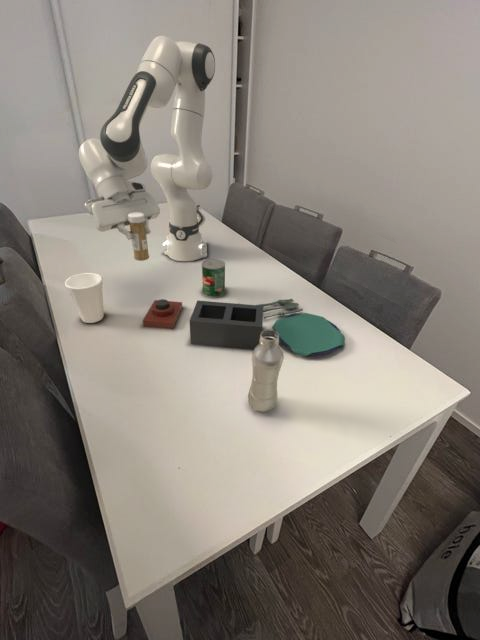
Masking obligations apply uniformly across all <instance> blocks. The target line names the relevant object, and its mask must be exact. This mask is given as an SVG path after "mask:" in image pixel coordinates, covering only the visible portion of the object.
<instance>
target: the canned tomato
mask: <svg viewBox="0 0 480 640" xmlns="http://www.w3.org/2000/svg"><path fill="white" fill-rule="evenodd" d="M201 273H202V274H201V278H202V294H203V296H205V297H208V298H220V297H223V296H224V295H225V293H226V288H225V287H226V263H225V261H224V260H222V259H219V258H208V259H205V260H203V261H202V262H201Z"/></svg>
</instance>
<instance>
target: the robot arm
mask: <svg viewBox="0 0 480 640" xmlns="http://www.w3.org/2000/svg"><path fill="white" fill-rule="evenodd" d="M215 72H216V58H215V55H214V51H212V49H211V47H209V46H208V45H206V44H204V43H200V42H199V43H195V42H191V41H182V40H180V41H175V40H173V39H172V38H171V37H168V36H166V35H158V36H156V37H154V38H153V39H152V41H151V42H150V43H149V45H148V47H147V48H146V50H145V52H144V54H143V56H142V58H141V61H140V63H139V66H138V69H137V72H136V74H134V76H133V77H132V78H131V80H130V81H129V84H128V86H127V88H126V89H125V91H124V94H123V96H122V98H121V100H120V102H119V104H118V106H117V108H116V110H115V111H114V113H113V114H112V115H111V116H110V117H109V118H108V120H106V121H105V123H104V124H103V125H102V127H101V129H100V134H99V139H98V138H96V137H91V138H88V139H86V140H85V141H83V143H81V145H80V146H79V149H78V159H79V162H80V164H81V167H82V169H83V171H84V173H85V174H86V176H87V178H88V180H89V181H90V182H91V183H92V184H93V186H94V189H95V192H96V194H97V195H98V196H99V197H95V198H89V199H87V200H86V201H85V203H84V207H85V209H86V211H87V213H88V214H89V215H90V217H91V220H92V223H93V225H94V227H95V228H96V230H97V231H99V232H100V233H103V232H107V231H110V230H111V231H112V230H115V229H117V230H118V232H119V233H121V234H122V235H124V236H125V237H126V239H127V241H130V240H132V239H133V238H134V234H133V232H132V231H130V230H128V229H127V228H126V227H127V226H130V224H129V221H128V214H129V213H133V212H140V213H143V214H144V216H145V230H146V236H148V235H150V234H151V232H152V230H151V229H150V227H149V221H151V220H155V219H157V218H158V217H159V215H160V214H161V208H160V206H159V204H158V202H157V201H156V199H155V198H154V196H153V195H152V194H151V193H149V192H148V191H146V190H147V186H146V184H145V183H141V182H137V181H136V182H135V181H131V180H130V179H133V178H136V177H139V176H141V175H143V174H144V172H145V171H146V169H147V166H148V157H147V155H146V151H145V149H144V146H143V144H142V139H141V135H140V125H141V123H142V121H143V119H144V116H145V114H146V112H147V109H148V107H150V108H154V109H162V108H164V107H166V106H167V105H168V104H169V102H170V101H171V99H172V97H173V95H174V91H175V89H176V93H175V96H174V100H173V105H172V106H173V107H172V116H171V123H170V136H171V138H172V139H173V141H175V143H176V144H177V146H178V151H179V152H178V155H177V154H171V153H163V154H157V155H155V156H154V157H153V158H152V160H151V162H150V174H151V176H152V178H153V179H154V180H155V181H156V182H157V183H158V185H159V186H160V187H161V190H162V191H163V194H164V197H165V199H166V202H167V207H168V213H169V214H168V215H169V223H168V229H169V233H168V234H167V235H166V241H164V242H163V243H162V246H166V249H165V250H164V251H163V255H165V256H168V258H170V260H174V261H177V262H192V261H198V260H200V259H204V258H207V257H208V245H207V242H206V241H204V240H203V241H202V237H203V236H202V233H201V231H200V224H201V223H202V221H203V214H201V212H200V211H198V208H200V207H201V206H200V204H198V205H197V202H196V200H195V199H194V198H193V197H192V196H191V194H190V193H189V192H188V190H191V191H200V190H205V189H208V187H209V186H210V184H211V183H212V180H213V171H212V167H211V165H210V163H209V162H208V161H207V159H206V157H205V155H204V152H203V147H202V136H203V127H204V119H205V111H206V89H207V88H208V86H209V85H210V83H211V82H212V81H213V79H214V76H215ZM176 86H177V88H176ZM198 215H199V217H200V220H199V219H198Z"/></svg>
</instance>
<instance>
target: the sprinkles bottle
mask: <svg viewBox="0 0 480 640" xmlns="http://www.w3.org/2000/svg"><path fill="white" fill-rule="evenodd" d="M128 221H129V224H130V225H129V231H132V232H133V234H134V238H133V239H131V246H132V250H133V259H134V260H135V261H137V262H143V261H147V260H148V259H149V258H150V254H149V244H148V238H147V235H146V230H145V216H144V214H143V213H140V212H133V213H129V214H128Z"/></svg>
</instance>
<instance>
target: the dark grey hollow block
mask: <svg viewBox="0 0 480 640" xmlns="http://www.w3.org/2000/svg"><path fill="white" fill-rule="evenodd" d="M264 308H265V306H259V304H246V303H245V304H244V303H235V302H220V301H211V300H210V301H209V300H199V299H198V300H196V303H195V306H194V308H193V310H192V313H191V316H190V319H189V337H190V339H189V340H190V345H194V346H195V345H196V346H208V347H217V348H230V349H239V350H243V349H244V350H252V351H253V350H254V348H255V347H256V346H257V345H258V344H259V343H260V342H259V340H260V334H261V332H262V331H263V326H264V325H263V324H264V312H263V310H264Z"/></svg>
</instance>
